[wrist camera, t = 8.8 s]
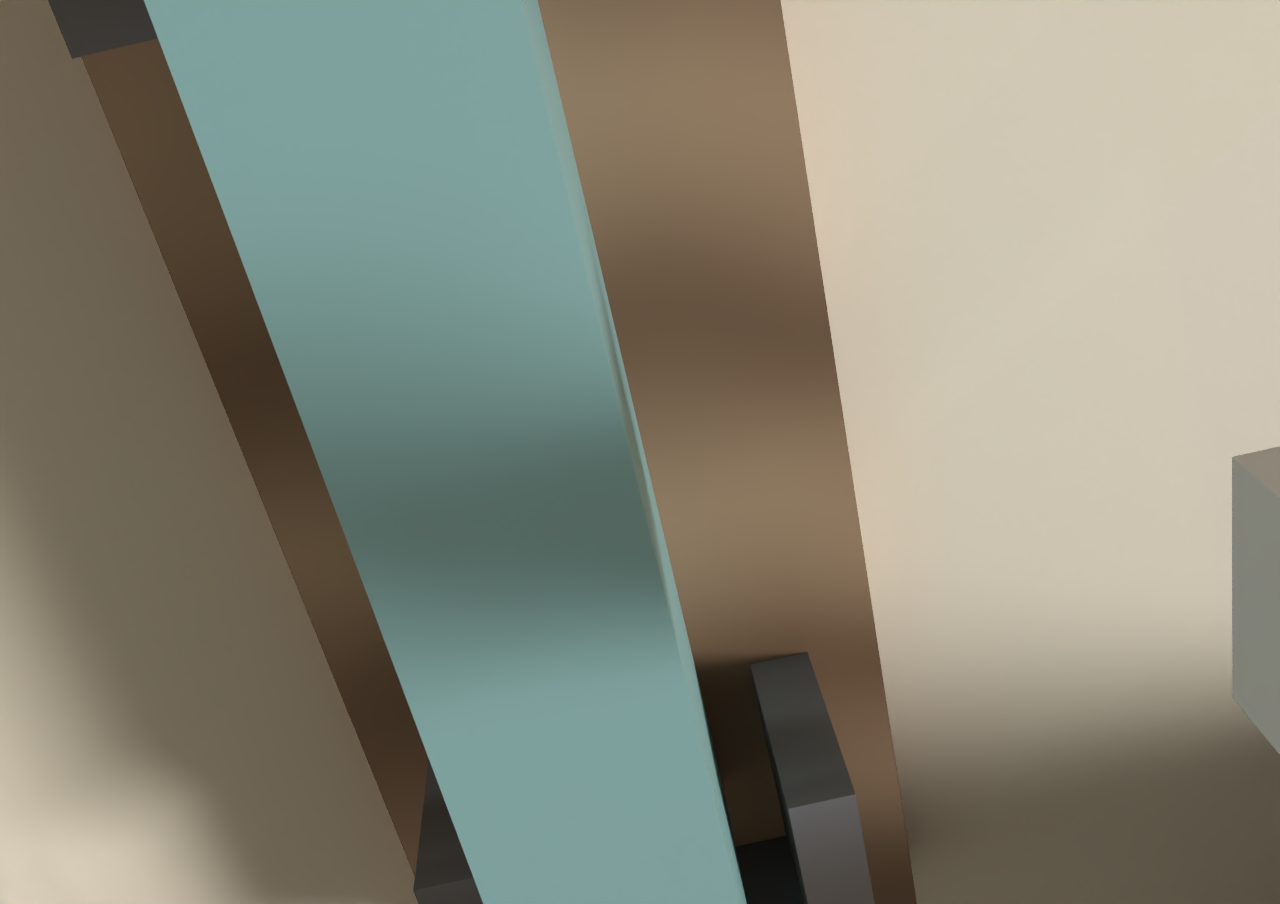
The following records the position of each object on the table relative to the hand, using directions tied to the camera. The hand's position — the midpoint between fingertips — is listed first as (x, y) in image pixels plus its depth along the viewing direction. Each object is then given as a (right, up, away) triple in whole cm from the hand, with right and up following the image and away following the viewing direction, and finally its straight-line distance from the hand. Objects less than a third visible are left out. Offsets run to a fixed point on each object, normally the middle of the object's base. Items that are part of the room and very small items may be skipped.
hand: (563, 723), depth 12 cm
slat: (-1, +4, +6) cm, 8 cm away
